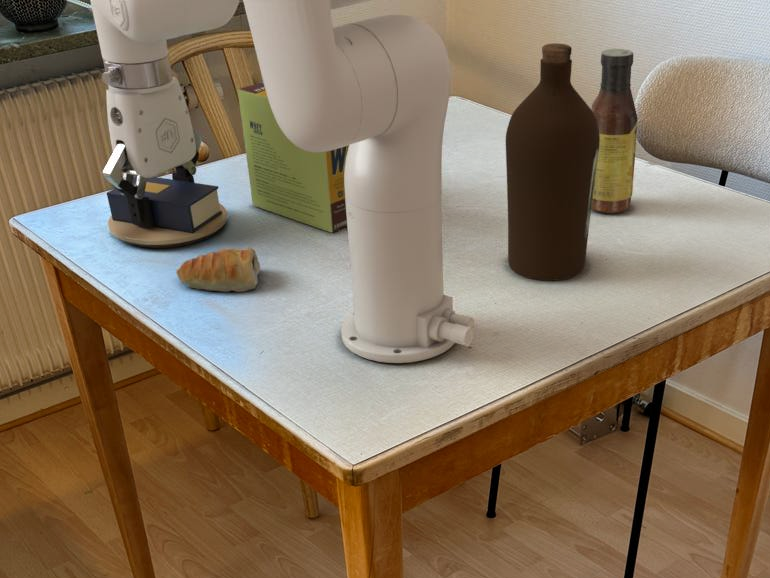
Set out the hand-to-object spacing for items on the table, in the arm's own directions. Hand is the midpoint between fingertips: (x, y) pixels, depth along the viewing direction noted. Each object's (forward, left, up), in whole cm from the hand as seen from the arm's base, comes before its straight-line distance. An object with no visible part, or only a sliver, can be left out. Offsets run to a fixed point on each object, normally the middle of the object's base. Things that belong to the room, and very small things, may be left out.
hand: (166, 214), depth 130 cm
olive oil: (-48, -14, -2) cm, 50 cm away
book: (0, 0, -2) cm, 2 cm away
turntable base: (0, 0, -2) cm, 2 cm away
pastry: (-17, +9, -2) cm, 20 cm away
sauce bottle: (-47, -35, -2) cm, 59 cm away
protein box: (-13, -15, -2) cm, 20 cm away
